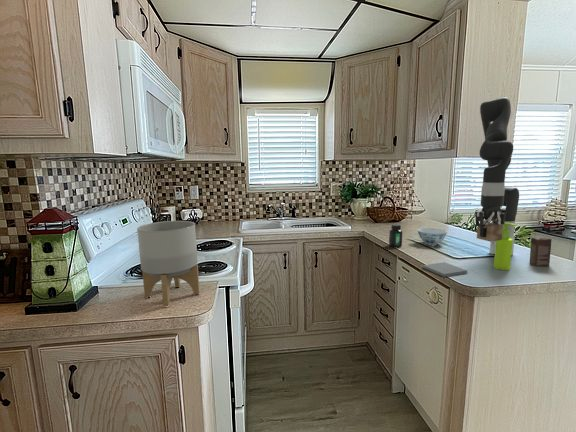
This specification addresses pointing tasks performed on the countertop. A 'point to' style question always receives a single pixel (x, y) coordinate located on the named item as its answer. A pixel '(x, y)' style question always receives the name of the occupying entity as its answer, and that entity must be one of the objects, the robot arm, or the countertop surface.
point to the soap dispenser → (504, 249)
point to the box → (540, 251)
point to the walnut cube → (492, 232)
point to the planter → (168, 256)
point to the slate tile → (444, 269)
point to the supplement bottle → (395, 236)
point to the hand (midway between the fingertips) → (489, 236)
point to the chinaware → (432, 235)
